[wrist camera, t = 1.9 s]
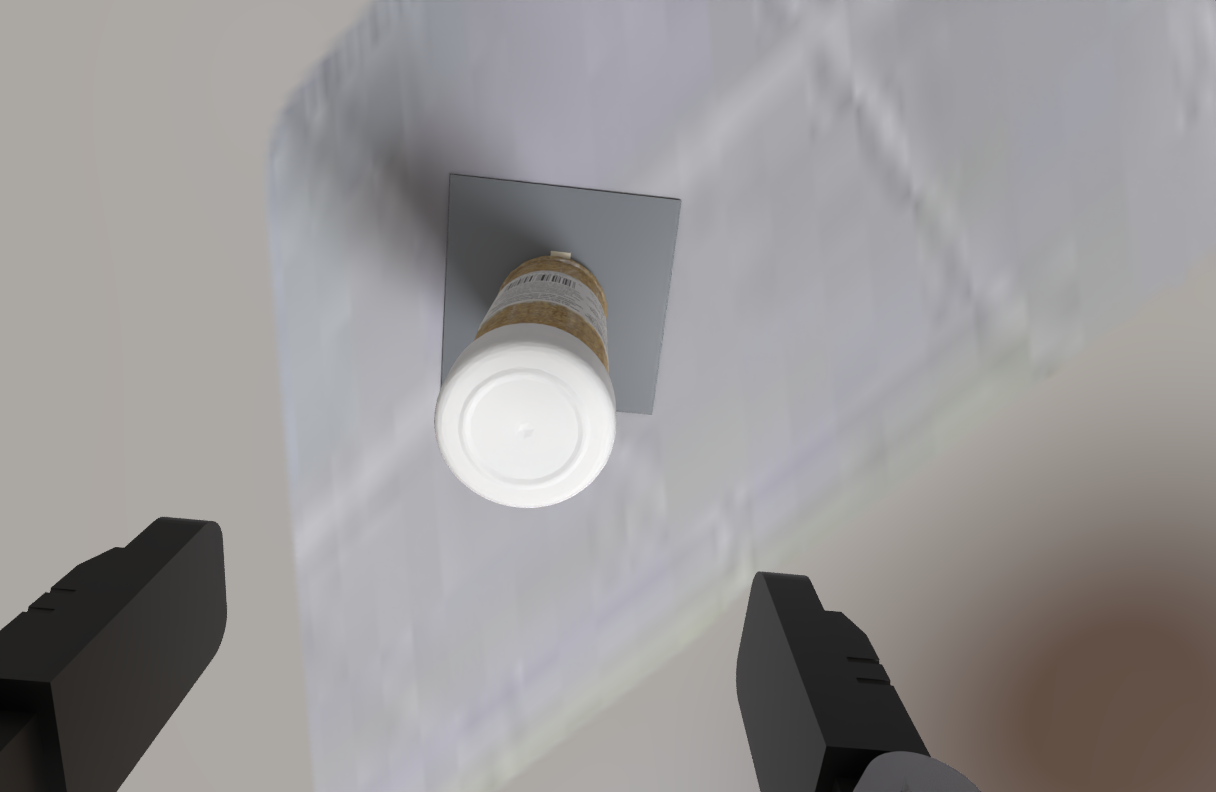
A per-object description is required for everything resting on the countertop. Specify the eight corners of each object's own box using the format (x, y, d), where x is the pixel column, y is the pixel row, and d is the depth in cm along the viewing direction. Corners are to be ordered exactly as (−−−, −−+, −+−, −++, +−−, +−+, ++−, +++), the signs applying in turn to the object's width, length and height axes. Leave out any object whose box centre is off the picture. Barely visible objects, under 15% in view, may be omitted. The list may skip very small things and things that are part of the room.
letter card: (450, 174, 30) (450, 174, 30) (680, 200, 30) (681, 200, 30) (441, 393, 33) (441, 394, 33) (651, 414, 33) (652, 415, 33)
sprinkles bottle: (487, 348, 32) (415, 493, 20) (509, 240, 31) (447, 321, 18) (595, 372, 33) (592, 531, 20) (621, 267, 31) (637, 365, 18)
